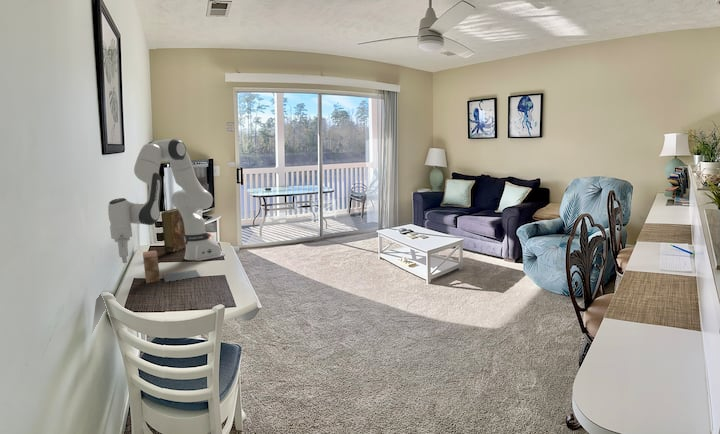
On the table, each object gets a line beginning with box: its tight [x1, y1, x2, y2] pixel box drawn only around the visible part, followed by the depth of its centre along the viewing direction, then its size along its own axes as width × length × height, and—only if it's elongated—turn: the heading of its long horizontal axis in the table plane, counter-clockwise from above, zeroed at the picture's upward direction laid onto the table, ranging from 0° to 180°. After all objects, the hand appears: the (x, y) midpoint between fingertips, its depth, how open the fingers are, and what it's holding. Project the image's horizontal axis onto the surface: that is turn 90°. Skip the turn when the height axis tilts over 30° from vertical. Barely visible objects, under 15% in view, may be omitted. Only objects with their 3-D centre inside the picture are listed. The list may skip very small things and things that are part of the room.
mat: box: [162, 269, 201, 283], centre depth 231 cm, size 16×14×1 cm
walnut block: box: [142, 250, 161, 284], centre depth 224 cm, size 6×6×14 cm
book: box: [160, 208, 186, 253], centre depth 288 cm, size 16×6×25 cm, turn 168°
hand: (124, 262), depth 219 cm, fingers closed
